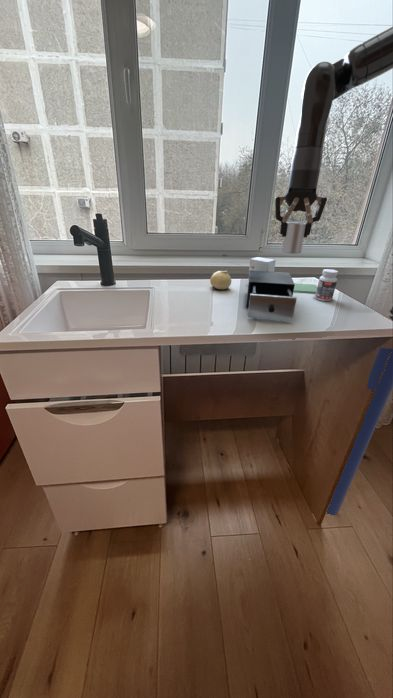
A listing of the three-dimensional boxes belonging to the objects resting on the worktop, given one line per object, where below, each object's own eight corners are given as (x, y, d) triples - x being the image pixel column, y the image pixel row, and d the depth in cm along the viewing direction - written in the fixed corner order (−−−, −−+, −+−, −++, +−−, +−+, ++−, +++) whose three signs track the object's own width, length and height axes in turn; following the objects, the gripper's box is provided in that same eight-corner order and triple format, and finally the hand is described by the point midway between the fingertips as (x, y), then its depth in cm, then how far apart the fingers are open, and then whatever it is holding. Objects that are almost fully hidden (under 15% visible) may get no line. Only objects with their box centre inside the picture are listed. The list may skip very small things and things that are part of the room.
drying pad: (314, 286, 115) (315, 284, 114) (319, 293, 106) (320, 292, 106) (289, 284, 116) (289, 282, 116) (292, 291, 108) (292, 290, 107)
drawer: (292, 323, 79) (297, 299, 76) (247, 319, 81) (250, 296, 78) (287, 305, 92) (290, 284, 89) (248, 302, 94) (250, 281, 90)
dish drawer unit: (289, 311, 90) (294, 284, 85) (246, 308, 92) (248, 281, 87) (285, 296, 102) (289, 272, 98) (246, 293, 104) (249, 270, 100)
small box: (272, 287, 112) (276, 259, 107) (264, 290, 108) (268, 261, 103) (255, 283, 117) (258, 256, 112) (247, 285, 113) (250, 258, 108)
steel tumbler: (299, 250, 88) (304, 221, 84) (302, 254, 83) (308, 223, 79) (281, 249, 89) (285, 221, 85) (283, 253, 84) (287, 223, 80)
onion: (213, 291, 105) (214, 272, 102) (207, 285, 112) (208, 267, 109) (233, 290, 107) (235, 271, 104) (226, 284, 114) (228, 266, 110)
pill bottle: (320, 302, 98) (327, 273, 93) (311, 296, 103) (317, 268, 98) (335, 301, 99) (343, 272, 94) (325, 295, 104) (332, 268, 99)
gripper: (278, 168, 73) (269, 237, 81) (337, 167, 71) (322, 239, 80) (276, 169, 80) (268, 234, 88) (330, 169, 78) (317, 235, 86)
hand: (294, 236), depth 84 cm, fingers closed on steel tumbler, 5 cm apart
